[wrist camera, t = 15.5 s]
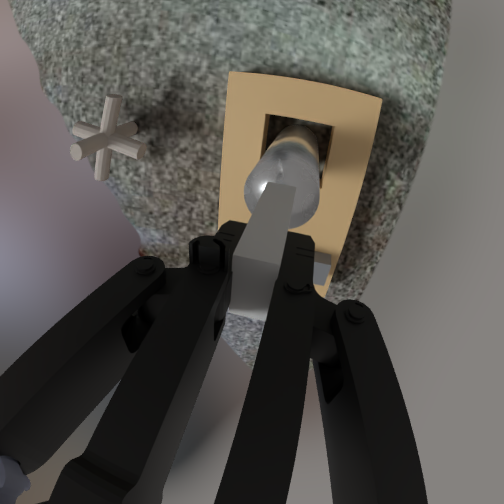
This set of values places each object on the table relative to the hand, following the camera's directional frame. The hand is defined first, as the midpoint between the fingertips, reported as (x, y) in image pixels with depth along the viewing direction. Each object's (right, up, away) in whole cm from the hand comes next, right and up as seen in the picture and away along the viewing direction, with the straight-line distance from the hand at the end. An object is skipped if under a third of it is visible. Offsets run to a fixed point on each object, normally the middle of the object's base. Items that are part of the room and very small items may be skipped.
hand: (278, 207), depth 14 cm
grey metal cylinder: (+3, +9, +12) cm, 16 cm away
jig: (+3, +5, +15) cm, 16 cm away
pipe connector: (-16, +13, +15) cm, 25 cm away
